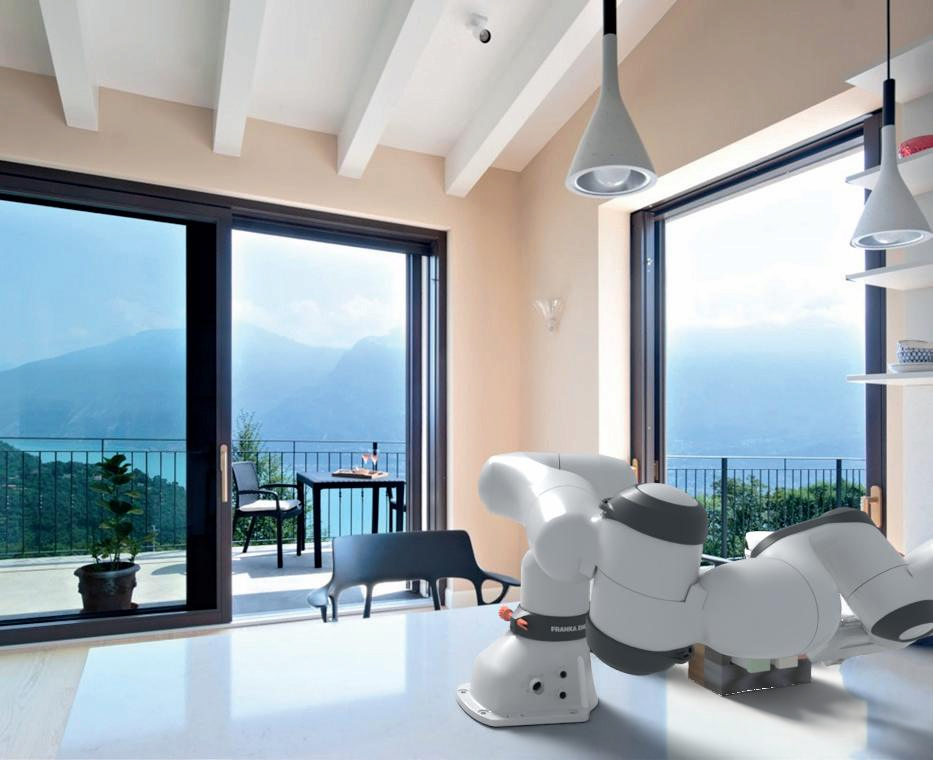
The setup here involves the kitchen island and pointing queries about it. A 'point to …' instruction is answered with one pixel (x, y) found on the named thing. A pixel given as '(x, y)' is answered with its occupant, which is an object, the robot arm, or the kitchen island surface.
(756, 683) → the console
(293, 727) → the kitchen island surface
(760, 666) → the sage button
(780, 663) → the cream button
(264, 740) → the kitchen island surface
